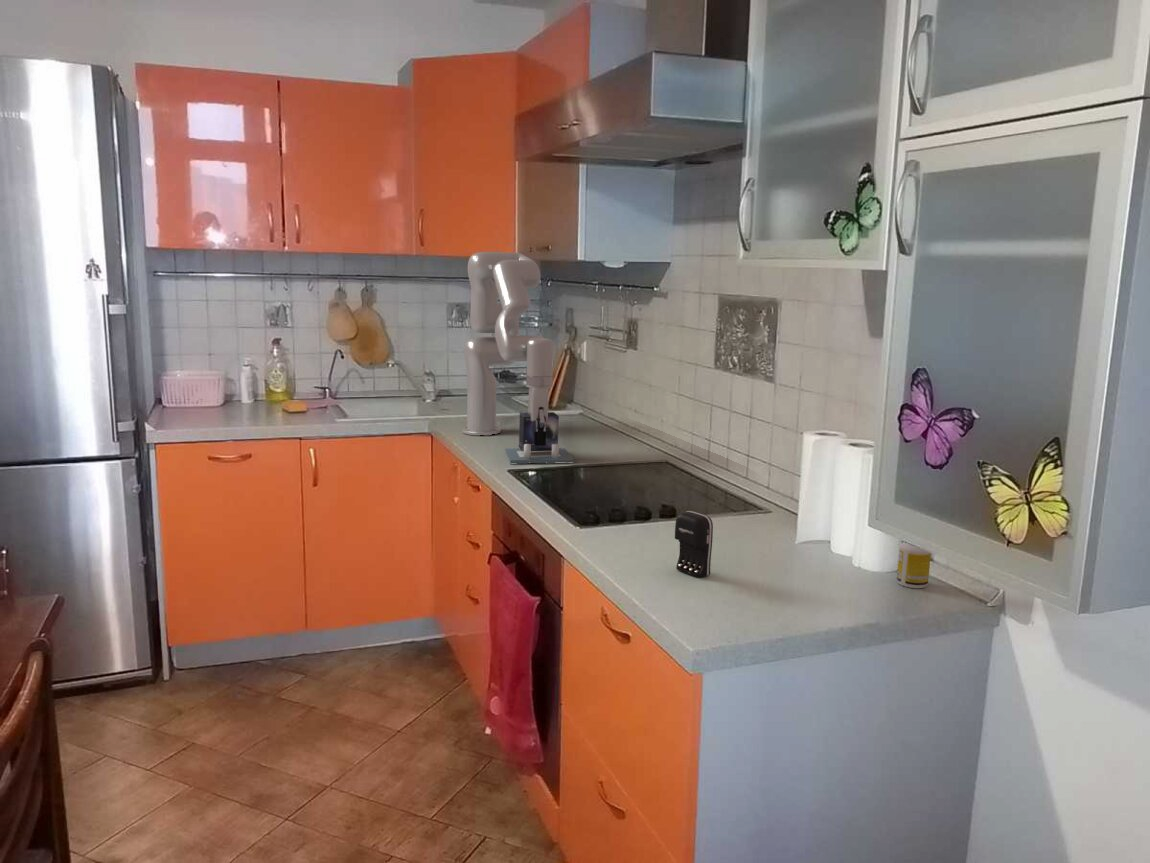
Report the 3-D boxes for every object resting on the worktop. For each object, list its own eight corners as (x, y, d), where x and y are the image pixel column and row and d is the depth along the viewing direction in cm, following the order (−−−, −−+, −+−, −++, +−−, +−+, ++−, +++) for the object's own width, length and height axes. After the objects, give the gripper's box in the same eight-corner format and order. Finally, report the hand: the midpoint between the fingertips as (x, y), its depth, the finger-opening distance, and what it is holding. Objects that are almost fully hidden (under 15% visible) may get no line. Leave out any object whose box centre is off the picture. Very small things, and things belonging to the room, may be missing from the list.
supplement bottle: (934, 586, 165) (939, 534, 163) (914, 591, 162) (919, 538, 161) (910, 577, 170) (914, 526, 168) (889, 581, 167) (894, 530, 165)
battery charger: (670, 570, 171) (672, 511, 169) (684, 566, 173) (686, 508, 171) (697, 580, 166) (700, 520, 163) (711, 576, 168) (714, 516, 166)
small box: (522, 452, 260) (523, 416, 258) (518, 447, 266) (518, 412, 264) (558, 451, 263) (559, 415, 261) (553, 446, 269) (553, 411, 267)
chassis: (505, 452, 271) (505, 435, 270) (564, 451, 274) (565, 434, 273) (510, 464, 255) (510, 446, 254) (573, 463, 258) (573, 445, 257)
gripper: (523, 377, 268) (522, 436, 272) (529, 385, 251) (528, 448, 255) (548, 377, 269) (547, 436, 273) (556, 385, 253) (555, 448, 256)
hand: (538, 441), depth 264 cm, fingers closed on small box, 6 cm apart
